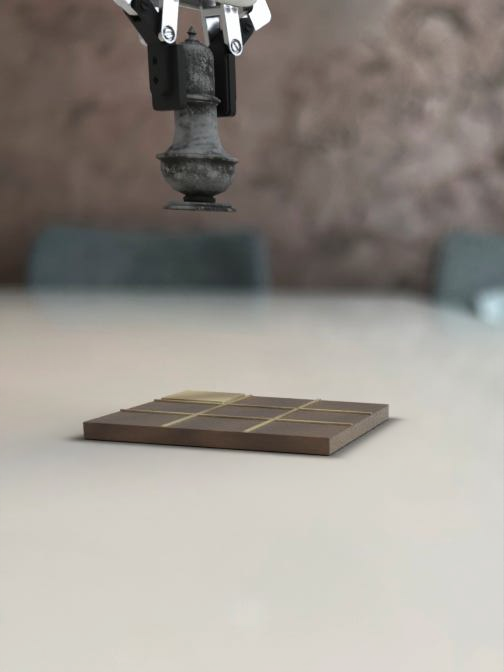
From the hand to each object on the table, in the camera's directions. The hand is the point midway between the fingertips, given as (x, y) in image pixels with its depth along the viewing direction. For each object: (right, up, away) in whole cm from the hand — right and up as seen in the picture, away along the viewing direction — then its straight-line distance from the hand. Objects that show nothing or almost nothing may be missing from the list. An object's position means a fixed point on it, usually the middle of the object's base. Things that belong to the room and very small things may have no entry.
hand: (194, 110), depth 79 cm
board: (+3, -21, +7) cm, 23 cm away
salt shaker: (0, -6, +2) cm, 7 cm away
